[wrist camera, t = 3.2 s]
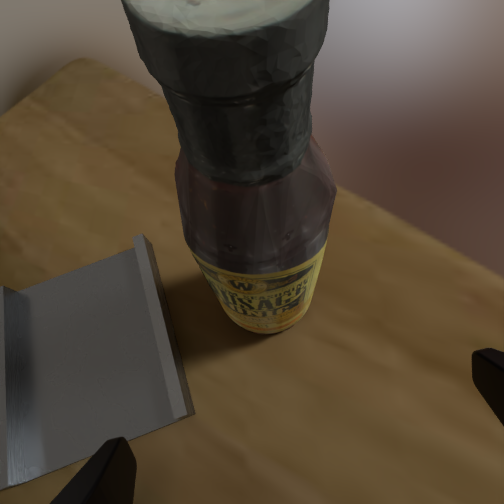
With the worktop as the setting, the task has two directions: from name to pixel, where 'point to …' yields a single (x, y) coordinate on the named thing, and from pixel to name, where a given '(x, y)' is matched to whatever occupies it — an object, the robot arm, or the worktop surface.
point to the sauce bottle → (245, 145)
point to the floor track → (86, 364)
